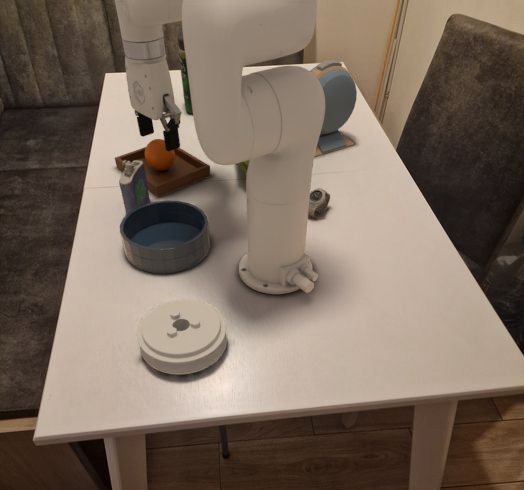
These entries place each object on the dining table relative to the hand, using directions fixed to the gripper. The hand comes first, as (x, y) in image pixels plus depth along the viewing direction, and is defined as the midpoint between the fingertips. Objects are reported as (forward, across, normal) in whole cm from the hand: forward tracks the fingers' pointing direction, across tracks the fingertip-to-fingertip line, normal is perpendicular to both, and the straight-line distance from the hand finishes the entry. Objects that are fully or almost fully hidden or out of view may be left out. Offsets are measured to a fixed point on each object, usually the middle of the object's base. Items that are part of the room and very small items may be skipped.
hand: (160, 141), depth 101 cm
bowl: (+8, +23, -15) cm, 29 cm away
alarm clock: (+7, +12, +37) cm, 40 cm away
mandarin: (+3, -1, 0) cm, 3 cm away
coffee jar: (+6, -24, +27) cm, 37 cm away
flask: (+8, +10, -13) cm, 18 cm away
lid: (+9, +45, -27) cm, 53 cm away
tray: (+7, -1, 0) cm, 7 cm away
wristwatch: (+8, +33, +14) cm, 37 cm away
